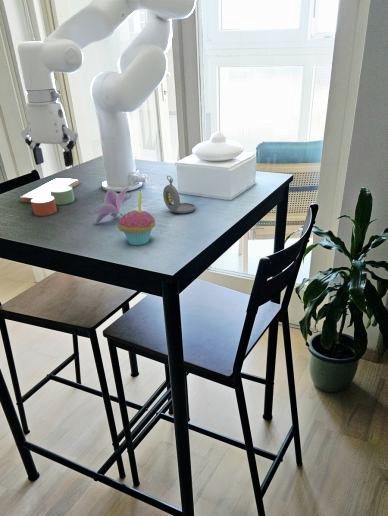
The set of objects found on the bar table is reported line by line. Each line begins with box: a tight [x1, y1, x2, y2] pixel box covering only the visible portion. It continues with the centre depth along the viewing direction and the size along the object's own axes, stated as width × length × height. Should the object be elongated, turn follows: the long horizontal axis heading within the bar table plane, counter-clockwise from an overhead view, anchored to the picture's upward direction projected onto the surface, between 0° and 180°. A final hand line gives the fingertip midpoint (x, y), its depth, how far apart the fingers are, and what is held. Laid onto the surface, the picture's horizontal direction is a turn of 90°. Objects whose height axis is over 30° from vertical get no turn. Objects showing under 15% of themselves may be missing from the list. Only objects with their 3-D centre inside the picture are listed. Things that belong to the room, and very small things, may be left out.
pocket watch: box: [162, 175, 196, 214], centre depth 127 cm, size 8×8×10 cm
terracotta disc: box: [30, 196, 58, 217], centre depth 133 cm, size 6×6×4 cm
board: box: [19, 177, 80, 204], centre depth 148 cm, size 8×20×2 cm, turn 161°
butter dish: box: [174, 131, 257, 201], centre depth 141 cm, size 18×18×16 cm
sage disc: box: [50, 186, 75, 206], centre depth 140 cm, size 6×6×4 cm
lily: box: [94, 187, 132, 225], centre depth 122 cm, size 12×12×10 cm
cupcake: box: [118, 188, 156, 246], centre depth 110 cm, size 9×8×12 cm
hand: (54, 164), depth 135 cm, fingers open, 9 cm apart
